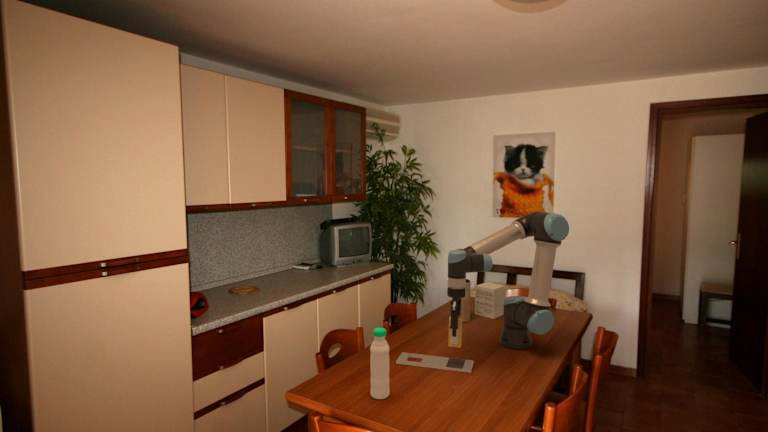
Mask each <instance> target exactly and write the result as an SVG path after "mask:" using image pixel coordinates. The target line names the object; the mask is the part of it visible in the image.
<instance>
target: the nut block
mask: <svg viewBox="0 0 768 432" xmlns="http://www.w3.org/2000/svg"><path fill="white" fill-rule="evenodd" d="M450 326H451V315H450V316H449V318H448V339H447V340H448V341H447V343H448V347H449V348H451V347H452V348H459V349H461V347H462V343H463V322H462V316H458V344H452V343H451V328H449V327H450Z"/></svg>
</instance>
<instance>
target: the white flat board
mask: <svg viewBox="0 0 768 432" xmlns="http://www.w3.org/2000/svg"><path fill="white" fill-rule="evenodd" d="M409 358H414V359H415V358H416V359H422V360H421V361H412V360H408V359H409ZM395 362H396V363H395V364H397V365H405V366H413V367H421V368H430V369H435V370H446V371H452V372H453V371H454V372H460V373H461V372H462V373H469V374H471V373H472V370H473V367H474V363H475V361H474V360H473V359H466V358H465V359H464V358H455V357H446V356H436V355H428V354H421V353H411V352H400V355H399V356H398V358H397V359H396V361H395Z"/></svg>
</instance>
